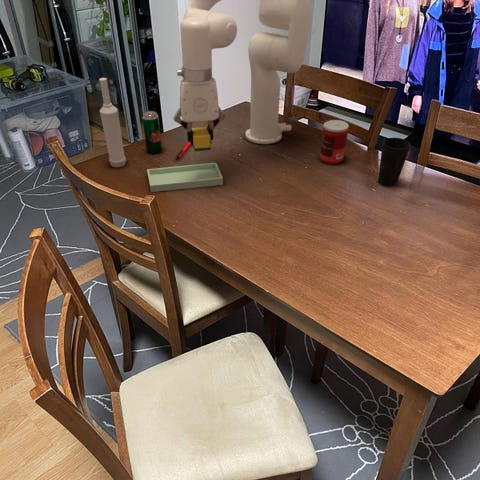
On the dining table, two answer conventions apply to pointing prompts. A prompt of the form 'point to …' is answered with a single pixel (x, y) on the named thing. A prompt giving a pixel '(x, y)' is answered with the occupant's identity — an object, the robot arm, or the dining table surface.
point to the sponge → (201, 139)
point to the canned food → (333, 141)
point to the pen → (183, 151)
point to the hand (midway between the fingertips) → (200, 142)
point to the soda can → (152, 132)
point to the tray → (184, 177)
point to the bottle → (111, 128)
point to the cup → (392, 160)
